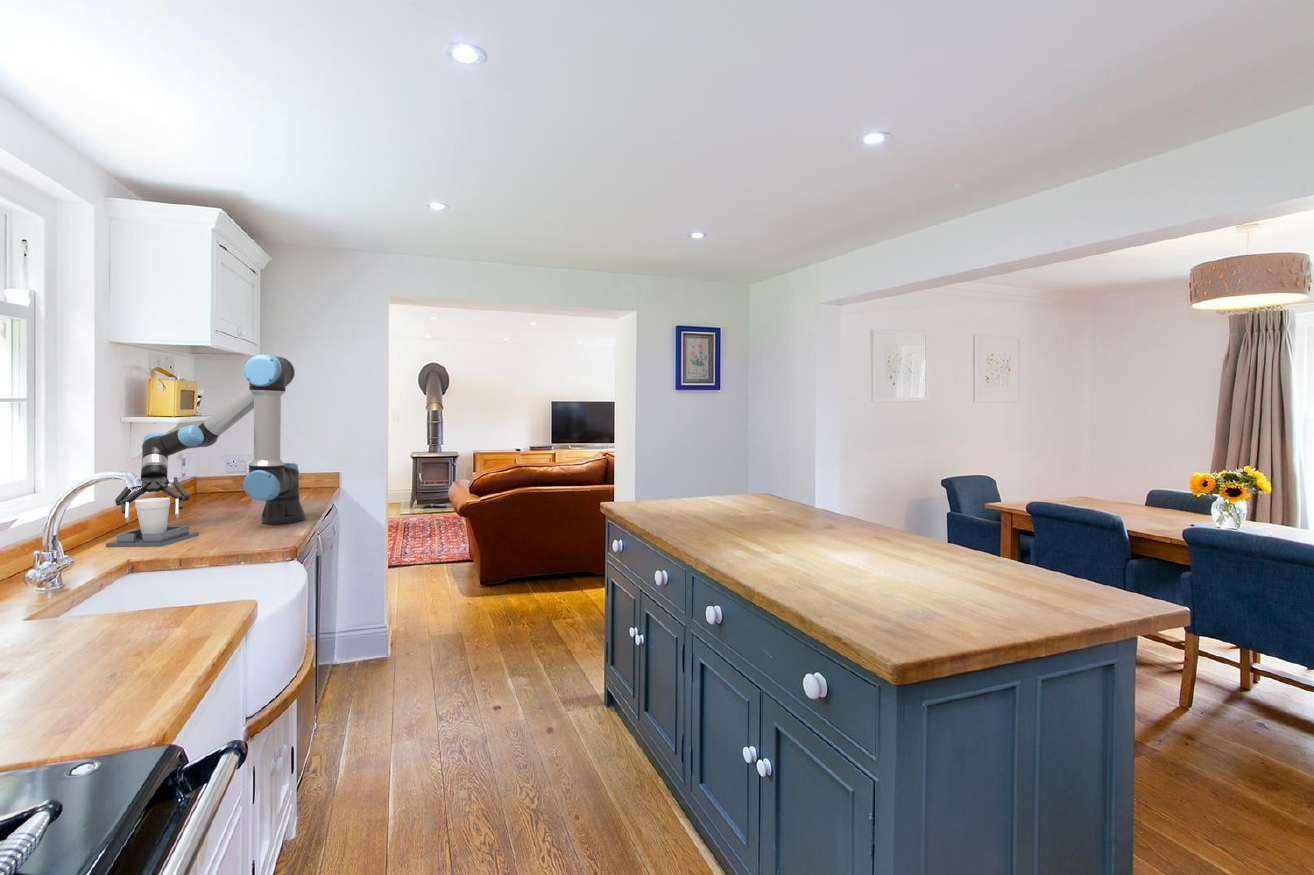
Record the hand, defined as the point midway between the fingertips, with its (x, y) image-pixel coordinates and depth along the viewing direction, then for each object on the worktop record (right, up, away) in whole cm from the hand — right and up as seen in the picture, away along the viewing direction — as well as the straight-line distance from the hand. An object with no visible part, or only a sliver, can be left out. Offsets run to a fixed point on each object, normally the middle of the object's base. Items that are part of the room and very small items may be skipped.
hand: (152, 517), depth 222 cm
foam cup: (0, -7, +1) cm, 7 cm away
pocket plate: (0, -8, +1) cm, 8 cm away
